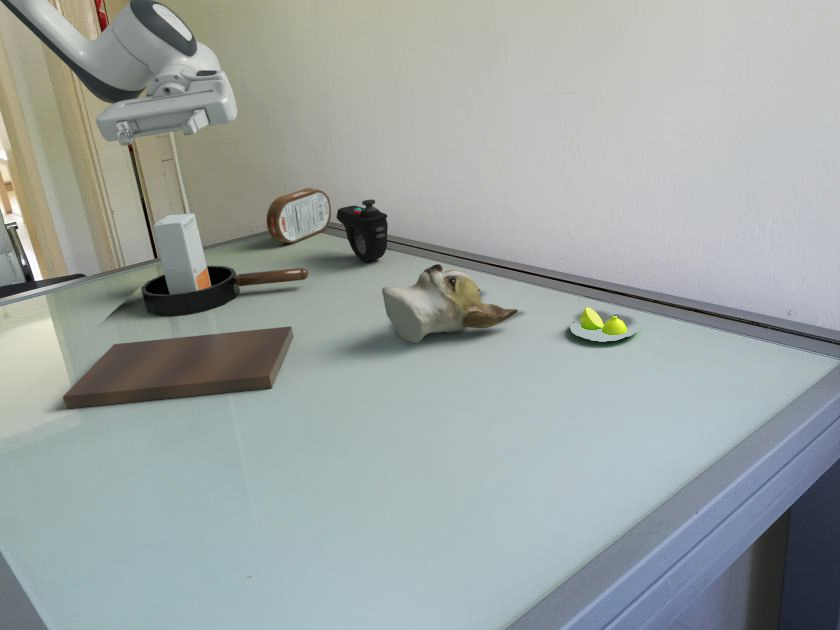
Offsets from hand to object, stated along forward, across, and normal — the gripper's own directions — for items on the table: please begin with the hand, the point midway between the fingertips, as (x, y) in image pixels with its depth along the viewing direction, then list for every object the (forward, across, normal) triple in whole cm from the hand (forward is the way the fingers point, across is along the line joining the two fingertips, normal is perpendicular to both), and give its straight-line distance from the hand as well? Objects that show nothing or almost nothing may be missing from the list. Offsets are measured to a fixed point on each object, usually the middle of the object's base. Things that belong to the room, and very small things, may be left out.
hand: (155, 135), depth 104 cm
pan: (+12, +6, +21) cm, 25 cm away
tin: (-17, +12, +30) cm, 36 cm away
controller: (0, +25, +26) cm, 36 cm away
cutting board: (+37, +8, +14) cm, 40 cm away
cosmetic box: (+12, +1, +21) cm, 24 cm away
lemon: (+38, +56, +17) cm, 70 cm away
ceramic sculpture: (+33, +38, +17) cm, 53 cm away
